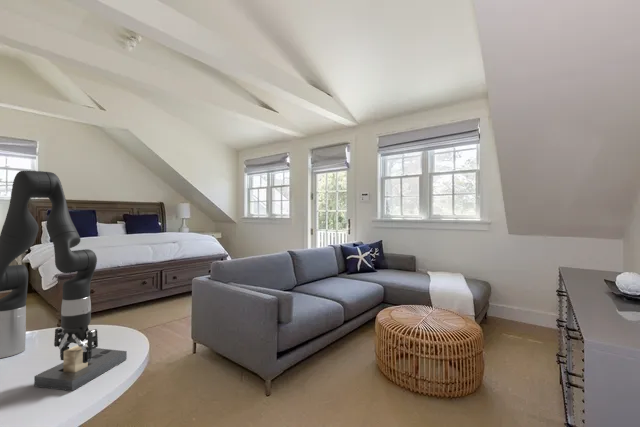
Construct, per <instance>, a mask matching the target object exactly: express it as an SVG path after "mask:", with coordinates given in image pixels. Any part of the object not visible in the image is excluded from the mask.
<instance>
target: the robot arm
mask: <svg viewBox="0 0 640 427" xmlns="http://www.w3.org/2000/svg"><path fill="white" fill-rule="evenodd" d="M10 192H11V193H10V199H9V200H10V201H9V205H8V208H7V213H6V216H5V219H4V222H3V225H2V228H1V231H0V292H7V291H10V292H9V293H8V294H6V295H5V296H3V297H1V298H0V359H1V358H2V359H4V358H7V357H12V356H15V355H19V354H21V353H22V352H23V353H24V351H25V350H26V341H27V339H26V337H27V336H26V335H27V334H26V333H27V330H26V329H27V328H26V327H27V300H28V297H27V296H28V285H29V271H28V267H27V266H26V265H24V264H14V265H13V264H12V265H10V264H11V263H12V262H13V261H15V260H16V259H17V258H18V257H20V256H21V255H23V254H24V253H25V252H27V251H28V250H29V249H30V248H31V247H32V246H33V245H34V243H35V242H36V240H37V236H38V232H39V229H40V228H39V224H38V222H37V220H36V218H35V217H34V216H33V215H32V213H31V211H30V209H29V206H28V205H29V201H30V200H31V199H36V198H37V199H48V200H49V201H50V202H51V209H50V212H49V215H48V217H47V220H46V223H45V225H46V226H45V227H46V231H47V233H48V235H49V237H50V240H51V242H52V244H53V248H54V249H53V251H54V262H55V263H54V264H55V267H56V270H58V272H60V273H62V274H72V273H73V274H74V273H76V274H75V276H74V277H73V278H70V279H68V280H66V281H64V282H63V284H62V301H61V310H60V311H61V312H60V313H61V316H60V319H61V320H60V327H57V328H55V329H54V342H53V346H54V347H55V348H57V347H58V349H59V354H60V355H59V358H60V360H61V361H64V351H65V350H68V349H70V345H71V344H76V345H78V346H79V347H81V348H82V349H83V351H84V352H83V363H87V362H89V361H90V360H91V358H92V349H94V348H98V347H99V343H98V341H99V340H98V338H99V337H98V329H97V328H95V329H90V328H89V326H90V324H91V322H92V321H91V320H92V317H91V316H92V303H91V302H92V301H91V282H92V279H93V277H94V273H95V270H96V268H97V262H98V258H97V254H96V253H95V251H93V250H91V249H76V250H71V249H72V248H74V247H77V246H79V244H80V243H81V237H80V235H79V232H78V230H77V228H76V226H75V224H74V222H73V220H72V217H71V214H70V211H69V208H68V207H69V206H68V204H67V199H66V197H65V196H66V195H65V192H64V189H63V185H62V182H61V181H60V178H59V176H58V175H57V174H56V173H54V172H50V171H42V170H20V171H17V173H16V175H15V177H14V178H13V182H12V188H11V191H10ZM86 346H88V347H86Z"/></svg>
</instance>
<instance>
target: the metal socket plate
mask: <svg viewBox="0 0 640 427" xmlns="http://www.w3.org/2000/svg"><path fill="white" fill-rule="evenodd" d="M127 354H128V353H127V350H116V349H110V348H109V349H108V348H100V347H99V348H98V347H96V348H94V349H92V358H91V360H90V361H89V362H88V366H87V367H85V368H83V369H81V370H79V371H77V372H76V373H69V372H63V362H61V363H59V364H56V365H55V366H54V367H51V368H48V369H47V370H45V371H42V372H40V373H39V374H36V375H34V380H33V381H34V382H33V383H34V387H39V388H46V389H47V388H48V389H54V390H55V389H56V390H62V391H69V392H73V391H75V390H77V389H79V388H80V387H82V386H83V385H85V384H88V383H89V382H90V381H92V380H94V379H95V378H98V377H99V376H101V375H102V374H104V373H105V372H108V371H109V370H110V369H112V368H115V367H116V366H118V365H119V364H122V363H123V362H125V361H126V360H127V357H128V356H127Z"/></svg>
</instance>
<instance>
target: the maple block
mask: <svg viewBox="0 0 640 427" xmlns="http://www.w3.org/2000/svg"><path fill="white" fill-rule="evenodd" d="M86 347H88V346H87V345H86ZM83 352H84V351H83V349H82V348H81V347H79V346H78V344H76V345H74V346H73V347H69V349H68V350H65V351H64V360H63V362H62V363H63V372H69V373H76V372H77V371H79V370H81V369H83V368H85V367H87V366H88V362H87V363H83Z"/></svg>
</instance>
